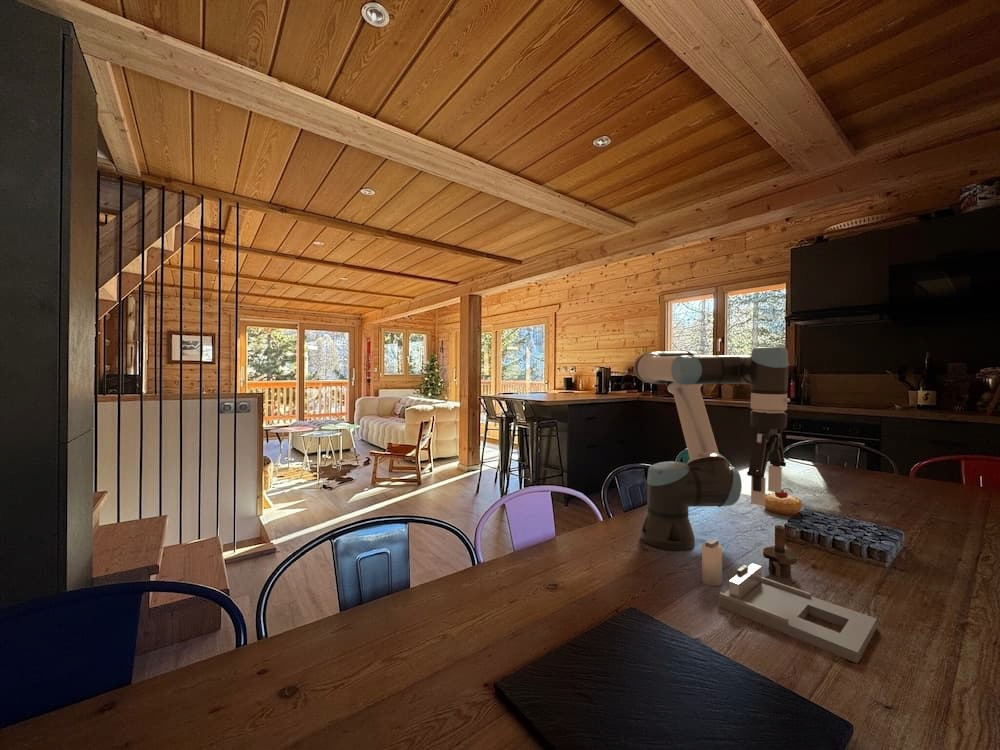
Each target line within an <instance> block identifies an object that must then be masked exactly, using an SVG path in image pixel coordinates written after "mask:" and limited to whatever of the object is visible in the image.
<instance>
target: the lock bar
mask: <svg viewBox="0 0 1000 750" xmlns="http://www.w3.org/2000/svg"><path fill="white" fill-rule="evenodd" d="M762 574H763V572H762V565H760V564H759V565H758V564H755V563H750V564H749V565H746V564H743V565H742V566H740V567H739V568H738V569H736V575H735V576H734V577H732V578H731V579H729V580H728V590H729V596H732V597H734V598H737V599H741V598H742V597H743V596H744V595H745V594H747V593H748V592H749V591H750V590H751V589H753V588H754V587H755V586H756V585H757V584H758V583H760V582H761V581H762V577H763V576H762Z"/></svg>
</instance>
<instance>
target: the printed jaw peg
mask: <svg viewBox="0 0 1000 750" xmlns="http://www.w3.org/2000/svg"><path fill="white" fill-rule="evenodd" d="M719 542H720V541H719V540H718V539H715V538H710V539H708V540H707V541H703V542H702V543H701V554H702V555H701V580H702V582H703V583H704V584H706V585H708V586H712V587H719V586H721V585H722V584H723V546H722V544H720V543H719Z"/></svg>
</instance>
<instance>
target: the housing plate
mask: <svg viewBox="0 0 1000 750" xmlns="http://www.w3.org/2000/svg"><path fill="white" fill-rule="evenodd" d="M718 607H720V608H721V609H724V610H726V611H729V612H732V613H734V614H737V615H738V616H741V617H744V618H745V619H746V618H747V619H748V620H751V621H754V622H756V623H758V624H760V625H763V626H765V627H768V628H770V629H773V630H775V631H778V632H780V633H782V634H785V635H787V636H790V637H792V638H795V639H798V640H800V641H802V642H804V643H807V644H809V645H811V646H814V647H816V648H818V649H822V650H824V651H826V652H829V653H830V654H833V655H836V656H837V657H841V658H843V659H845V660H848V661H850V662H853V663H854V664H859V663H860V660H861V658H862V656H864V655H863V654H864V652H865V651H866V649H867V648H868V646H869V643H870V641H871V639H872V638H873V636H874V634H875V632H876V631H877V629H878V627H877V625H878V623H877V622H878V619H877V618H876V617H873V616H869V615H867V614H864V613H862V612H859V611H855V610H852V609H849V608H847V607H845V606H841V605H838V604H836V603H832V602H829V601H825V600H823V599H820V598H817V597H814V596H812V593H810V592H807V591H805V590H802V589H799V588H796V587H793V586H791V585H787V584H784V583H782V582H779V581H775V580H773V579H769V578H766V577H764V576H762V581H761V582H760V583H758V584H757V585H756V586H755V587H754V588H753V589H751V590H750V591H749V592H748V593H747V594H745V595H744V596H743V597H742V598H741V599H737V598H734V597H732V596H729V589H728V590H726V591H725V592H724V593H723V592H722V591H720V592H719V597H718ZM808 615H810V616H812V617H815V618H817V619H821V620H823V621H826V622H828V623H831V624H834V625H837V626H839V627H842V629H841V631H840V632H837V631H835V630H833V629H830V628H829V627H824V626H823V625H820V624H816V623H814V622H812V621H809V620H808V619H807V620H806V619H805V618H806V617H807V616H808Z"/></svg>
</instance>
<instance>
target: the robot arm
mask: <svg viewBox="0 0 1000 750" xmlns="http://www.w3.org/2000/svg"><path fill="white" fill-rule="evenodd" d="M751 350H752V351H751V355H748V354H747V355H744V354H736V355H735V354H734V355H733V354H732V355H730V354H729V355H728V354H727V355H701V354H700V353H699V352H696V351H691V350H680V351H679V350H675V351H673V350H667V351H664V350H662V351H661V350H654V351H653V350H651V351H647V352H645V353H643V354H641V355H640V356H638V357H637V358H636V360H635V362H634V364H633V371H634V374H635V375H636V378H638V379H639V380H640V381H642V382H644V383H648V384H653V385H655V384H656V385H666V389H667V391H668V392H669V393H670V394H673V397H674V401H675V402H674V403H675V405H676V409H677V413H678V417H679V421H680V422H679V423H680V424H681V429H682V434H683V437H684V440H685V445H686V449H687V453H688V457H689V459H688V461H687V462H683V461H671V460H670V461H660V462H657V463H653V464H652V465H650V466H649V467H648V469H647V478H646V484H647V485H646V486H647V493H646V494H647V495H646V496H647V498H646V499H647V507H646V508H647V511H646V512H647V513H646V517H645V519H644V522H643V525H642V528H641V534H640V535H641V537H642V538H641V540H642V539H643V540H644V541H645V542H646V543H645V542H644V541H643V540H642V541H643V542H644V543H645V544H647V543H648V544H647V545H649V546H651V545H652V546H651V547H654V546H655V547H654V548H657V547H658V549H661V548H662V549H661V550H666V549H668V551H685V550H687V551H688V550H690V549H692V548H694V547H695V541H696V540H695V538H696V537H695V533H694V531H693V528H692V525H691V521H690V519H689V508H691V507H698V508H699V507H718V508H721V507H728V506H729V507H731V506H733V505H735V504H736V503H737V502H738V501H739V499H740V496H741V493H742V488H743V487H742V478H741V474H740V472H739V471H738V469H737V468H736V467H734V466H732V465H729V464H728V461H727V458H726V457H725V456H722V455H721V454H720V453H719V450H718V446H717V442H716V440H715V436H714V432H713V429H712V425H711V423H710V419H709V415H708V413H707V408H706V406H705V401H704V399H703V395H702V392H701V388H702V386H703V385H717V384H718V385H736V384H738V385H750V409H752V410H751V411H750V413H749V414H750V419H749V420H750V421H749V422H750V423H749V425H750V426H752V427H753V428H758V433H756V432H755V433H753V435H752V436H753V440H752V448H751V449H752V450H751V454H750V459H749V466H748V471H746V475H747V476H749V477H751V482H750V483H751V484H750V486H751V487H750V488H751V489H750V504H753V505H758V506H761V507H765V495H766V481H768V482H767V483H768V485H767V486H768V487H767V491H768V492H772V493H775V492H778V493H781V490H782V475H783V474H782V473H783V472H782V471H783V467H784V468H785V467H786V465H787V464H786V462H785V456H784V447H783V437H782V430H783V429H786V428H787V426H788V414H787V413H786V412H785V411H787V410H788V403H789V402H791V399H790V398H789V397H788V391H789V390H788V387H789V386H788V385H789V366H790V362H789V351H788V349H787V348H786V347H783V346H757V347H754V348H752V349H751ZM768 461H769V463H770V464H768ZM767 466H768V479H767V480H766V476H765V474H766V470H767V469H766V468H767Z"/></svg>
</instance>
